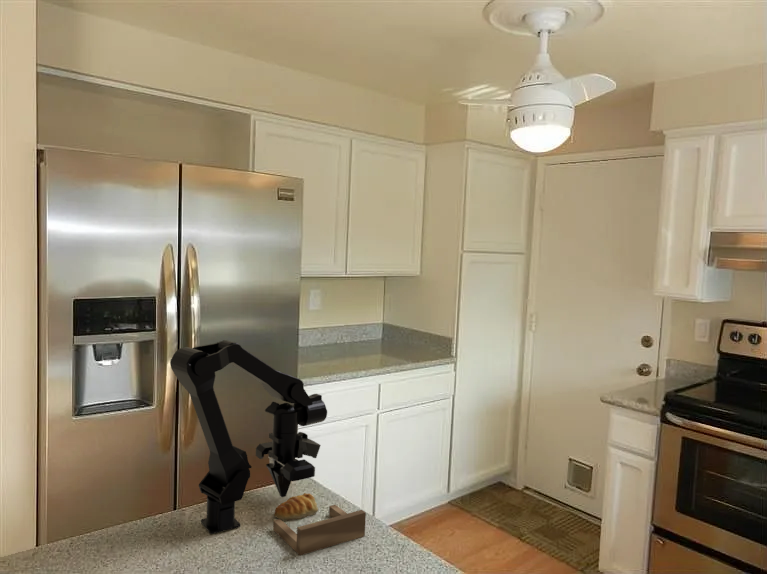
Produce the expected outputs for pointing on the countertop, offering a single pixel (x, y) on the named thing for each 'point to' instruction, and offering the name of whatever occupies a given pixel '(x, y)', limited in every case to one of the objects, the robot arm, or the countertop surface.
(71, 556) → the countertop surface
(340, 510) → the frame
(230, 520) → the robot arm
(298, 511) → the pastry
